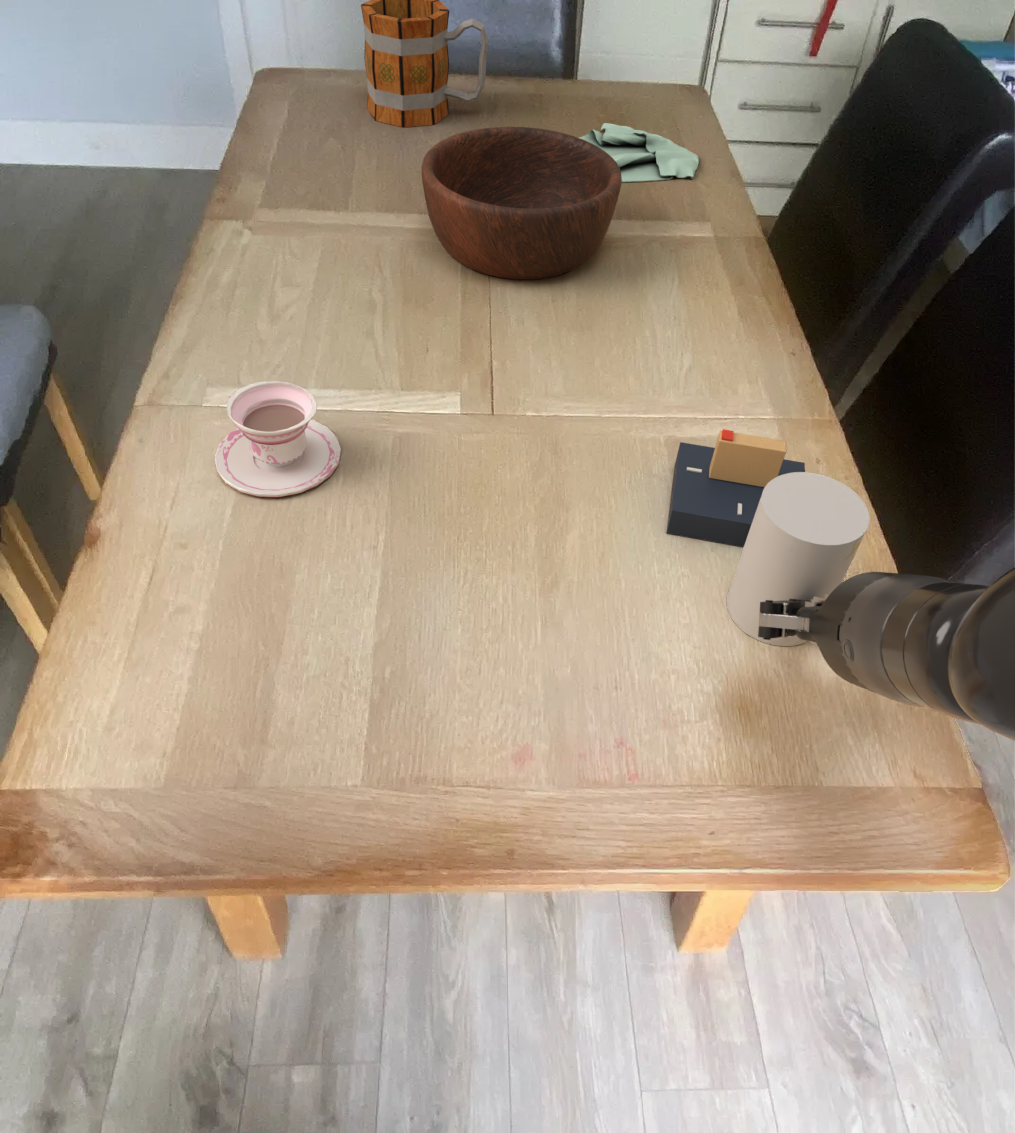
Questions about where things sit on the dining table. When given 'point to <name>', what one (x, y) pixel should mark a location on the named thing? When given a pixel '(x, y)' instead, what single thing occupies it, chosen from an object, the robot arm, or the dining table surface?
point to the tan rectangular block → (746, 458)
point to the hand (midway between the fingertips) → (803, 613)
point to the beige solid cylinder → (796, 546)
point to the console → (712, 499)
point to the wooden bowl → (520, 199)
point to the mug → (412, 61)
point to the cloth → (644, 154)
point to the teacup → (275, 441)
